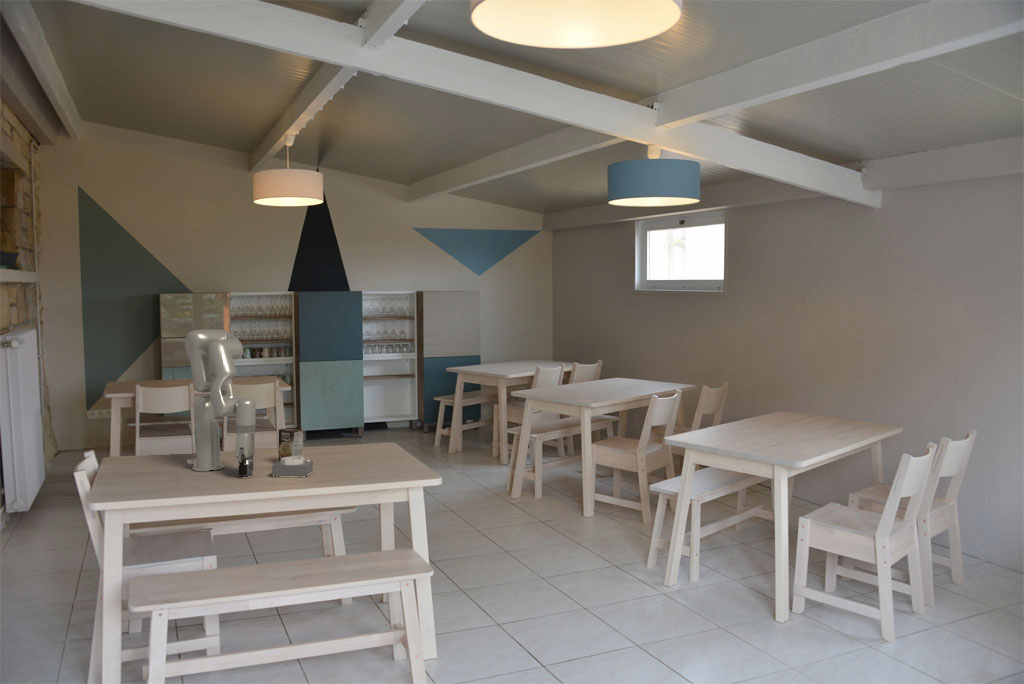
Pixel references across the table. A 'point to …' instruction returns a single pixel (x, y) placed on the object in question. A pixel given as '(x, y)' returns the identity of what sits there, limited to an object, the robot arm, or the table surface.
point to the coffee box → (290, 442)
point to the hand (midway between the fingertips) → (246, 472)
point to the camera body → (292, 466)
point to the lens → (248, 467)
